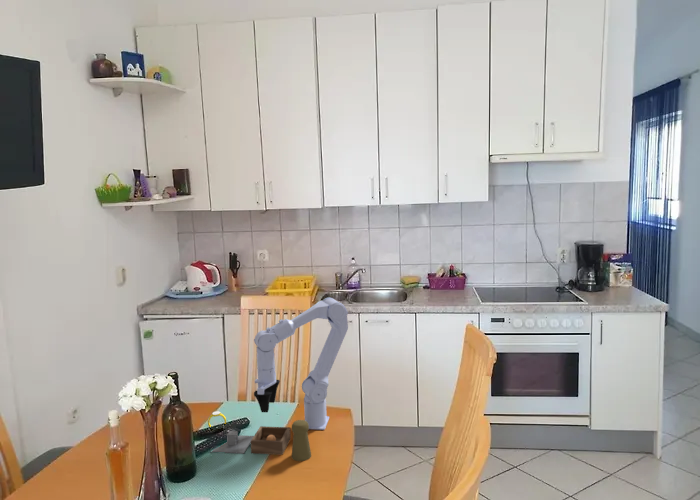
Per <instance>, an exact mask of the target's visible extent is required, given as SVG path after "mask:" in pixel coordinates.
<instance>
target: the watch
mask: <svg viewBox="0 0 700 500" xmlns="http://www.w3.org/2000/svg"><path fill="white" fill-rule="evenodd" d="M213 417H222V419H223V420H224V424H227V417H226V416H225V415H224V414H223V413H222V412H221V411H219V410H217V411H213V412H212V414H210V415H209V417H208V419H207V426H208V427H211V426H212V425H211V423H210V420H211V418H213ZM224 424H223V425H224Z"/></svg>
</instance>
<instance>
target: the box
mask: <svg viewBox="0 0 700 500" xmlns="http://www.w3.org/2000/svg"><path fill="white" fill-rule="evenodd" d="M269 435H274V436H275V437H276V441H268V440H266V439H267V437H268V436H269ZM253 436H254V437H253V438H252V440H251V444H250V453H251V454H260V455H280V456H281V455H282V456H283V454H284V453H285V450H286V449H287V447H288V446H289V445H288V444H289V443H290V441H291V439H292V437H291V427H288V426H262V425H261V426H259V428H258V429H257V431H256V432H255V434H254V435H253Z"/></svg>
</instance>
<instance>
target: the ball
mask: <svg viewBox="0 0 700 500" xmlns="http://www.w3.org/2000/svg"><path fill="white" fill-rule="evenodd" d="M266 440H268V441H276V437H275V436H274V435H269V436H268V437H267V439H266Z"/></svg>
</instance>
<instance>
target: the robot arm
mask: <svg viewBox="0 0 700 500" xmlns="http://www.w3.org/2000/svg"><path fill="white" fill-rule="evenodd" d="M348 314H349V311H348V310H347V308H346V305H345V304H343V303H342V302H340V301H338V300H336V299H335V298H333V297H326V298H323V300H319V301H317V303H315V304H313V305H312V306H311V307H309V308H308V309H306V310H304V311H303V312H301V313H300V314H298V315H297V316H295V317H294V318H292V319H287V318H284V319H280V320H278V323H276V324H274V325H272V326H271V327H269V326H268V327H266V328H265V330H263V329H262V330H260V331H258V332H257V333H256V335H255V337H254V339H253V342H254V344H255V346H256V367H257V378H256V379H255V380H254V384H257V389H256V390H255V391H253V396H254V398H256V400H257V403H258V405H259V409H260V412H261V413H268V412H269V409H270V403H273V404H274V403H275V402H276V397H277V391H278V387H279V385H280V382H281V381H280V379H277V373H276V362H275V358H276V357H275V347H276V345H277V344H279V343H280V342H283V341H284V340H286V339H287V338H289V337H291V336H293V335H295V332H296V330H297V329H298V328H300V327H302V326H304V325H307V324H308V323H310V322H312V321H314V320H316V319H322V320H328V322H329V324H330V327H331V328H330V331H329V332H328V336H327V338H326V340H325V343H324V345H323V348H322V349H321V352H320V354H319V357H318V360H317V362H316V364H315V366H314V369H313V370H311V371H310V372H308V376H307V377H306V378H304V380H303V381H302V383H301V391H302V392H303V393H304V398H303V407H304V420H305V421H307V423H308V425H309V429H308V430H321V431H322V430H323V431H324V430H326V427H327V425H328V422H329V419H330V416H328V415H327V399H326V398H327V397H328V386H329V375H330V373H331V371H332V368H333V365H334V364H335V363H334V362H335V360H336V358H337V355H338V353H339V351H340V349H341V346H342V345H343V341H344V340H345V337H346V335H347V332H348V329H349V323H348Z"/></svg>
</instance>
